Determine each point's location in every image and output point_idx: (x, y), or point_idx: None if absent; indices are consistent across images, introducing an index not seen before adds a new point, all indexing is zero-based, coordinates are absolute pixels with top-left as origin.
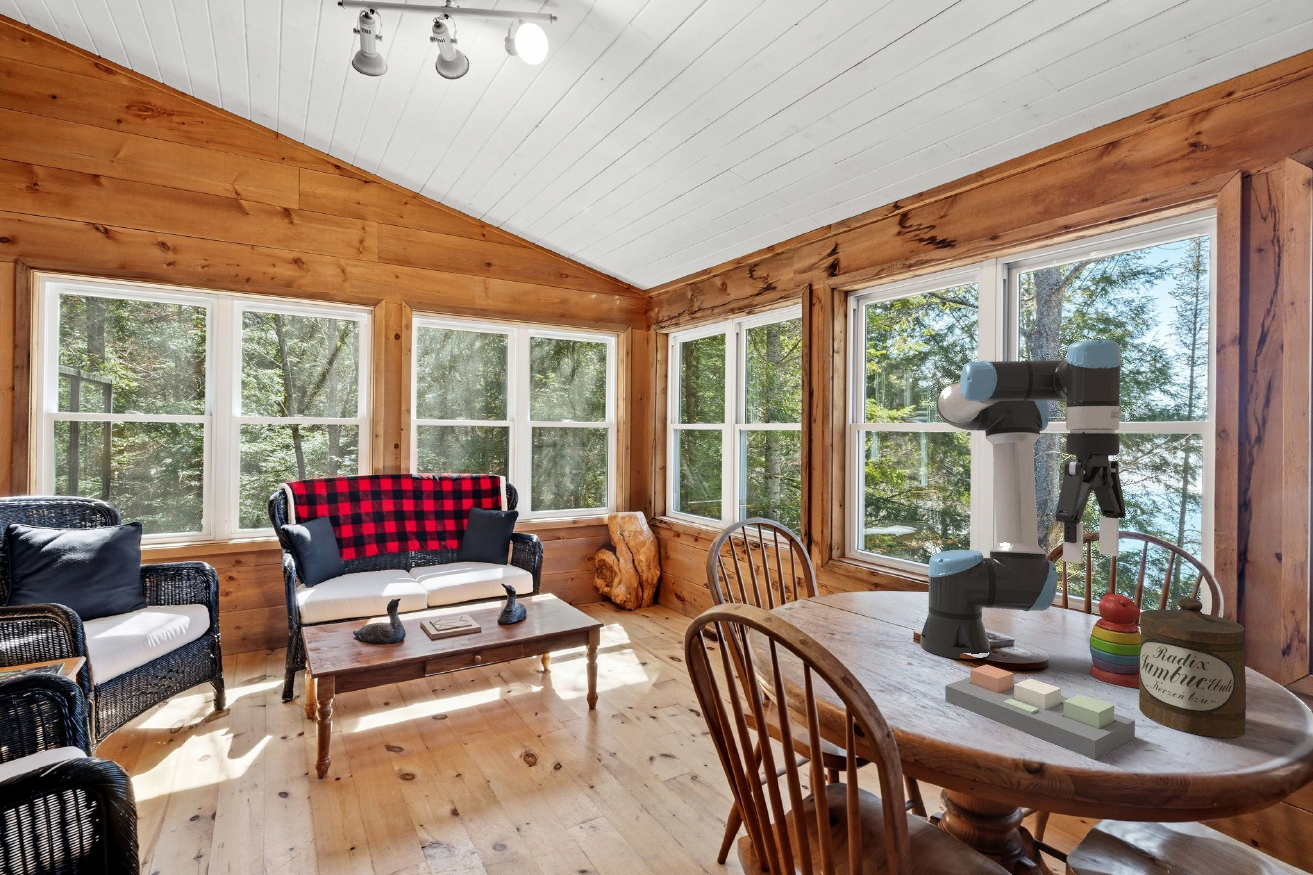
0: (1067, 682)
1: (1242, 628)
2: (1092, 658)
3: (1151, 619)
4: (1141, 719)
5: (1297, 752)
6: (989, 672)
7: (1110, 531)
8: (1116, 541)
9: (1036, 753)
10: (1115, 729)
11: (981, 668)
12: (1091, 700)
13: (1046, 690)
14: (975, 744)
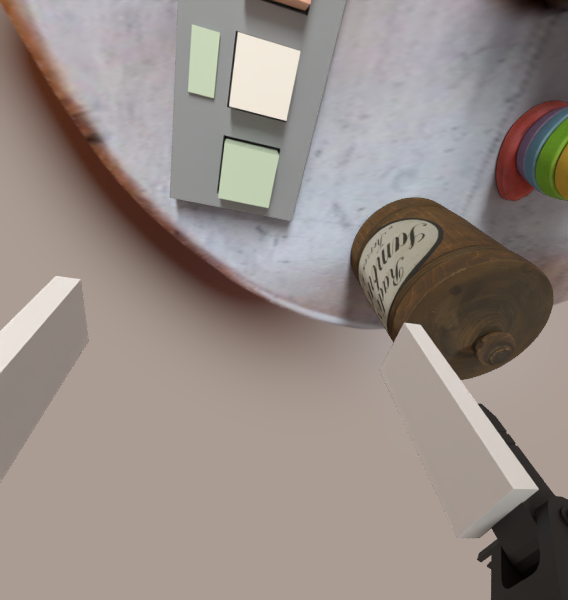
0: (474, 77)
1: None
2: (559, 109)
3: (443, 285)
4: (362, 207)
5: (365, 327)
6: None
7: (431, 443)
8: (403, 417)
9: (120, 122)
10: (235, 208)
11: None
12: (264, 177)
13: (254, 101)
14: (51, 23)
